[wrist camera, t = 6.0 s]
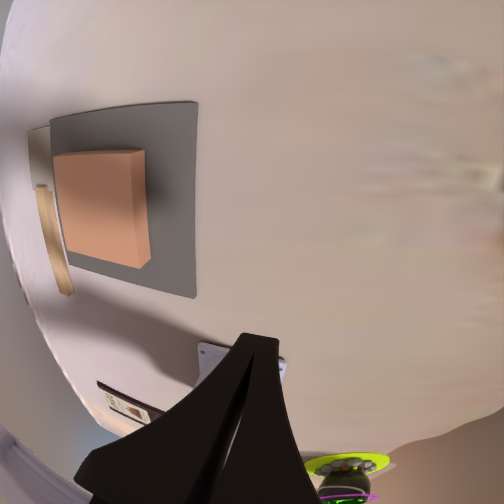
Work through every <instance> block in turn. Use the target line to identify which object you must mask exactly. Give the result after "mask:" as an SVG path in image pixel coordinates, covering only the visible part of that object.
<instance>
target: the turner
mask: <svg viewBox="0 0 504 504" xmlns="http://www.w3.org/2000/svg"><path fill="white" fill-rule="evenodd" d="M28 145H29V159H30V170H31V179H32V187H33V190H35V193H36V199H37V205H38V211H39V216H40V221H41V226H42V231H43V235H44V239H45V243H46V247H47V251H48V255H49V259H50V262H51V266H52V269H53V273H54V276H55V279H56V282H57V285H58V288H59V291H60V293H62V294H64V295H67V296H70V295H71V294H72V293H73V292H74V289H73V286H72V283H71V279H70V276H69V272H68V269H67V265H66V261H65V257H64V253H63V249H62V245H61V240H60V236H59V231H58V226H57V221H56V216H55V210H54V204H53V197H52V191H55V189H54V181H53V172H52V160H51V145H50V126H47V127H43V128H39V129H34V130H31V131H28Z"/></svg>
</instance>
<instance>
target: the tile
mask: <svg viewBox="0 0 504 504" xmlns="http://www.w3.org/2000/svg"><path fill="white" fill-rule="evenodd" d="M53 163H54V174H55V183H56V191H57V199H58V205H59V212H60V217H61V223H62V228H63V233H64V238H65V242H66V247H67V250H69V251H72V252H76V253H80V254H83V255H87V256H91V257H95V258H99V259H102V260H106V261H110V262H114V263H118V264H122V265H126V266H130V267H134V268H138V269H140V268H142V267H143V266H144V265H145V264H146V263H147V262H148V261H149V260H150V259H151V253H150V243H149V233H148V220H147V205H146V186H145V150H102V151H82V152H67V153H64V154H60V155H57V156H54V157H53Z"/></svg>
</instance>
